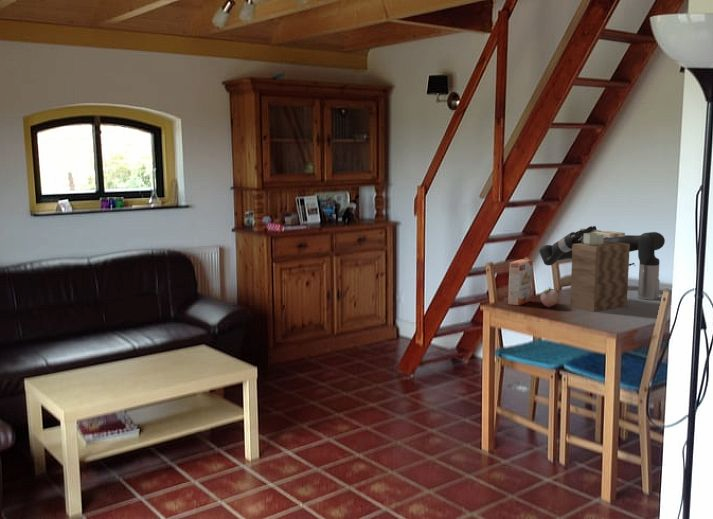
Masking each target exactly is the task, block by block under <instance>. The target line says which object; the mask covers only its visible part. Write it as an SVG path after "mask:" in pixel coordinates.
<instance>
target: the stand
mask: <svg viewBox="0 0 713 519" xmlns="http://www.w3.org/2000/svg"><path fill="white" fill-rule="evenodd" d="M629 250H630V244H627V243H619V242H611V241H603V243H602V245H601V246H588V245H584V243H579V244H573V246H572V259H571V273H570V274H571V277H570V302H569V303H570V304H569V306H571V308H574V307H575V309H579V310H584V311H589V312H591V313H592V312H593V313H594V312H600V311H606V310H607V311H608V310H612V309H618V308H625V307H627V306H628V289H629V287H628V286H629V270H630V269H629V268H630V266H629V264H630V252H629Z"/></svg>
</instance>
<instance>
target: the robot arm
mask: <svg viewBox="0 0 713 519" xmlns="http://www.w3.org/2000/svg"><path fill="white" fill-rule="evenodd" d="M583 229H584V230H577V231H571V232H570V233H568V234H566V235H565V236H563V237H562V238H561V239H559V240H558V241H556V242H554V243H553V244H546V245H542V246H541V247H540V248H539V250H538V251H539V255H540V257H541V260H542V263H543V264H544V265H545V266H552V265H554V264H556V263H557V261H563V260H572V246H573V244H579V243H584V242H583V237H584V233H589V232H591V231H593V230H598V229H597V226H596V225H593V226H592V225H591V226H588V227H587V228H583ZM603 241H611V242H619V243H627V244H630V250H629V253H631V252H635V251H637V255H638V256H637V257H638V260H639V264H638V265H639V267H638V268H639V270H638V283H637V284H638V289H637V298H638V299H641V300H646V299H647V301H649V300H650V301H652V300H653V301H654V300H658V299H659V297H660V296H659V295H660V262H661V261H660V259H659V258H658V257H656V254H655V251H658V250H660V249H662V248H663V246H664V245H665V241H666V238H665V237H664V235H663V234H661V233H660V232H656V231H651V232H644V233H641V235H636V234H635V235H631V234H630V235H629V234H625V236H623V237H612V238H608V237H604V239H603Z"/></svg>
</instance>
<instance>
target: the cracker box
mask: <svg viewBox="0 0 713 519" xmlns="http://www.w3.org/2000/svg"><path fill="white" fill-rule="evenodd" d="M532 265H533V260H532V259H524V258H521V259H518V260H514V261H511V262H509V267H508V269H509V270H508V271H509V272H508V274H509V275H508V294H507V296H508V297H507V298H508V299H507V305H510V306H516V305H517V306H521V305H524V304H527V303H529V302H531V291H532V289H531V288H532V271H533V270H532ZM517 306H516V307H517Z"/></svg>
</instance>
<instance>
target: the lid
mask: <svg viewBox="0 0 713 519" xmlns="http://www.w3.org/2000/svg"><path fill="white" fill-rule="evenodd" d="M584 229H585V228H580V230H584ZM580 230H579V231H580ZM589 233H599V234H604V238H605V237H608V238H612V237H623V236H625V235H626V233H625V232H619V231H610V230H599V229H597V230H593V231H591V232H589Z"/></svg>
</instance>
